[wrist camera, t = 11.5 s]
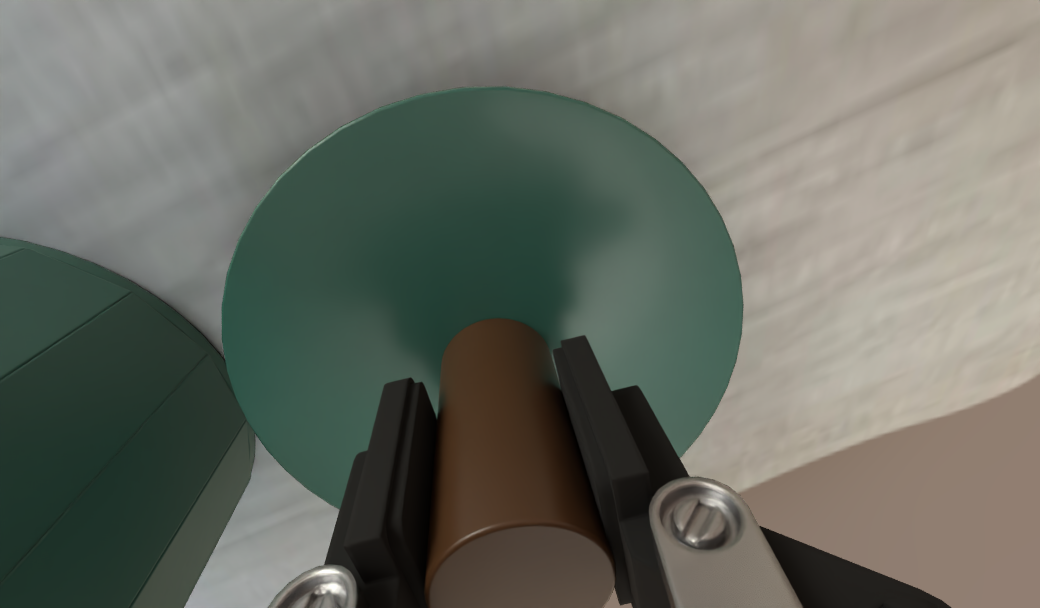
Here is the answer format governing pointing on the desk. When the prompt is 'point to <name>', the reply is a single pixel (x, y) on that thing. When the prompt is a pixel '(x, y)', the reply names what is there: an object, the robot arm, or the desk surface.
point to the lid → (482, 318)
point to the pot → (108, 439)
